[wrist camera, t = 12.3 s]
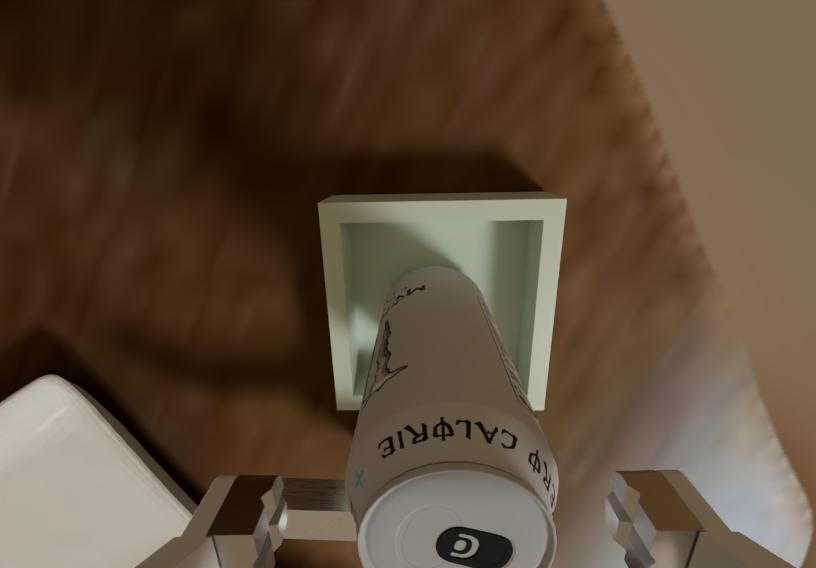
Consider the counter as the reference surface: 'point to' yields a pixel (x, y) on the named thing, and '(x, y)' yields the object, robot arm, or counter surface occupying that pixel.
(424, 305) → the energy drink can
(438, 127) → the counter surface
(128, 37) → the counter surface
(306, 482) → the crank lever
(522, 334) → the tray
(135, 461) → the square plate
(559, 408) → the counter surface
